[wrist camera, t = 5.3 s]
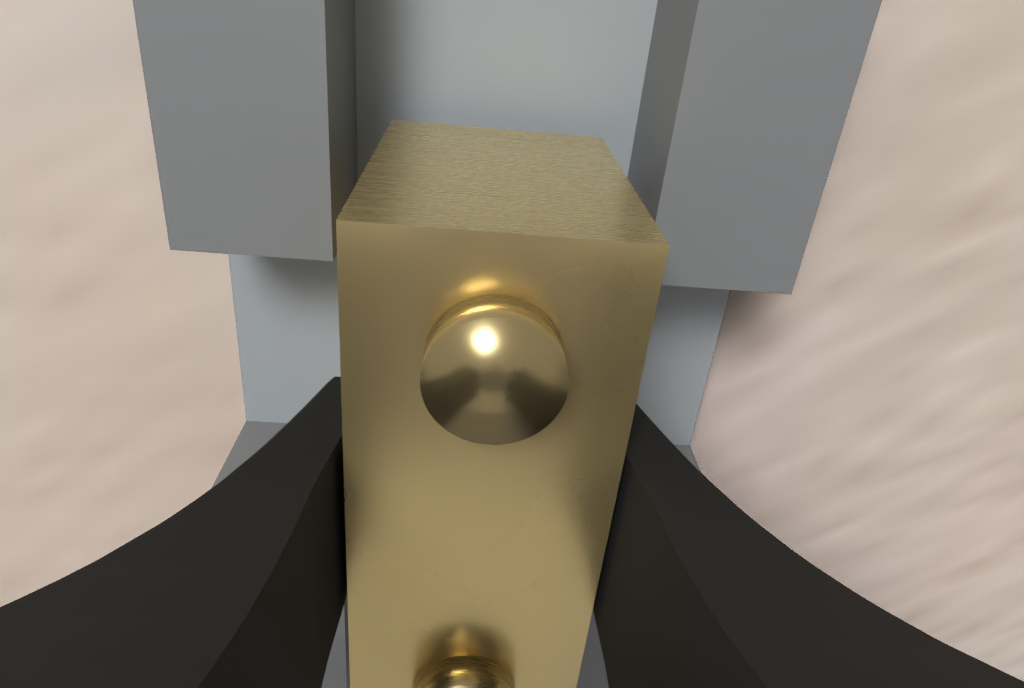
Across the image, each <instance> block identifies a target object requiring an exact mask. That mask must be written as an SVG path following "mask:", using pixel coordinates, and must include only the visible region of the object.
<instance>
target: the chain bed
mask: <svg viewBox="0 0 1024 688" xmlns="http://www.w3.org/2000/svg"><path fill="white" fill-rule="evenodd" d="M881 2H882V0H133V6H134V12H135V19H136V26H137V32H138V39H139V46H140V52H141V59H142V66H143V72H144V79H145V86H146V92H147V99H148V106H149V112H150V119H151V126H152V132H153V139H154V146H155V152H156V159H157V166H158V172H159V179H160V186H161V192H162V199H163V206H164V212H165V219H166V225H167V232H168V239H169V245H170V250H182V251H195V252H209V253H223V254H228V255H229V264H230V273H231V282H232V292H233V301H234V310H235V319H236V329H237V338H238V347H239V356H240V366H241V375H242V384H243V393H244V402H245V412H246V423H245V425H244V427H243V429H242V430H241V432H240V434H239V436H238V438H237V440H236V442H235V444H234V446H233V448H232V450H231V452H230V454H229V456H228V458H227V460H226V462H225V463H224V465H223V467H222V469H221V471H220V473H219V475H218V477H217V479H216V481H215V483H214V485H213V487H214V486H215V485H217V484H218V483H219V482H221V481H222V480H223V479H224V478H226V477H227V476H228V475H229V474H230V473H232V472H233V471H234V470H235V469H236V468H238V467H239V466H240V465H241V464H242V463H244V462H245V461H246V460H247V459H248V458H250V457H251V456H252V455H253V454H254V453H256V452H257V451H258V450H259V449H260V448H261V447H262V446H263V445H265V444H266V443H267V442H268V441H269V440H270V439H271V438H272V437H273V436H274V435H275V434H276V433H277V432H278V431H279V430H281V429H282V428H283V427H284V426H285V425H286V424H287V423H288V422H289V421H290V420H291V419H292V418H293V417H294V416H295V415H296V414H297V413H298V412H299V411H300V410H301V409H302V408H303V407H304V406H305V405H306V404H307V403H308V402H309V401H310V400H311V399H312V398H313V397H314V396H315V395H316V394H317V393H318V392H319V391H320V390H321V389H322V388H323V387H324V386H325V385H326V383H327V382H329V381H330V380H331V379H332V378H334V377H335V376H336V377H341V371H340V338H339V306H338V273H337V240H336V219H337V217H338V216H339V214H340V212H341V210H342V208H343V207H344V205H345V203H346V201H347V199H348V198H349V196H350V194H351V192H352V191H353V189H354V187H355V185H356V183H357V182H358V180H359V178H360V176H361V175H362V173H363V171H364V169H365V167H366V166H367V164H368V162H369V160H370V158H371V157H372V155H373V153H374V151H375V150H376V148H377V146H378V144H379V142H380V141H381V139H382V137H383V135H384V134H385V132H386V130H387V128H388V126H389V125H390V123H391V121H392V120H404V121H416V122H427V123H439V124H450V125H462V126H474V127H485V128H497V129H508V130H520V131H531V132H543V133H555V134H566V135H578V136H589V137H601V138H603V140H604V142H605V143H606V145H607V146H608V148H609V150H610V151H611V153H612V154H613V156H614V158H615V159H616V161H617V162H618V164H619V166H620V167H621V169H622V170H623V172H624V174H625V175H626V177H627V178H628V180H629V181H630V183H631V185H632V186H633V188H634V189H635V191H636V193H637V194H638V196H639V197H640V199H641V201H642V202H643V204H644V205H645V207H646V209H647V210H648V212H649V213H650V215H651V217H652V218H653V220H654V221H655V223H656V225H657V226H658V228H659V229H660V231H661V233H662V234H663V236H664V237H665V239H666V241H667V242H668V244H669V245H670V246H669V251H668V255H667V260H666V265H665V269H664V274H663V279H662V284H661V288H660V293H659V298H658V303H657V307H656V312H655V317H654V322H653V326H652V331H651V336H650V340H649V345H648V350H647V355H646V359H645V364H644V369H643V374H642V378H641V383H640V388H639V393H638V397H637V402H636V404H637V405H638V406H639V407H640V408H641V409H642V410H643V412H644V413H645V414H646V415H647V416H648V417H649V418H650V419H651V420H652V422H653V423H654V424H655V425H656V426H657V427H658V428H659V429H660V430H661V431H662V433H663V434H664V435H665V436H666V437H667V438H668V439H669V440H670V441H671V442H672V443H673V444H674V446H675V447H676V448H677V449H678V450H679V451H680V452H681V453H682V454H683V455H684V456H685V457H686V458H687V459H688V460H689V461H690V462H691V463H692V464H693V465H694V466H695V467H696V468H697V469H698V470H699V471H700V469H699V467H698V465H697V462H696V460H695V457H694V455H693V453H692V450H691V448H690V441H691V437H692V434H693V430H694V426H695V422H696V418H697V415H698V411H699V407H700V403H701V399H702V396H703V392H704V388H705V384H706V380H707V376H708V373H709V369H710V365H711V361H712V357H713V354H714V350H715V346H716V342H717V338H718V335H719V331H720V327H721V323H722V319H723V316H724V312H725V308H726V304H727V300H728V296H729V293H730V290H739V291H753V292H767V293H781V294H791V293H792V290H793V287H794V284H795V280H796V277H797V274H798V271H799V267H800V264H801V261H802V258H803V254H804V251H805V248H806V245H807V241H808V238H809V235H810V232H811V229H812V225H813V222H814V219H815V216H816V212H817V209H818V206H819V203H820V199H821V196H822V193H823V190H824V186H825V183H826V180H827V177H828V173H829V170H830V167H831V164H832V161H833V157H834V154H835V151H836V148H837V144H838V141H839V138H840V135H841V131H842V128H843V125H844V122H845V118H846V115H847V112H848V109H849V106H850V102H851V99H852V96H853V93H854V89H855V86H856V83H857V80H858V76H859V73H860V70H861V67H862V63H863V60H864V57H865V54H866V50H867V47H868V44H869V41H870V38H871V34H872V31H873V28H874V25H875V21H876V18H877V15H878V12H879V8H880V5H881ZM213 487H212V488H213ZM321 688H350V667H349V634H348V601H347V596H346V600H345V603H344V607H343V610H342V613H341V617H340V620H339V624H338V627H337V631H336V634H335V637H334V641H333V644H332V648H331V651H330V655H329V658H328V662H327V667H326V671H325V675H324V679H323V683H322V687H321ZM576 688H609V685H608V679H607V674H606V668H605V663H604V658H603V653H602V649H601V644H600V640H599V635H598V631H597V626H596V621H595V617H594V612H593V610H592V615H591V620H590V625H589V629H588V634H587V639H586V644H585V648H584V653H583V658H582V662H581V667H580V672H579V677H578V681H577V686H576Z"/></svg>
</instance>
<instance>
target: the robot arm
mask: <svg viewBox="0 0 1024 688" xmlns="http://www.w3.org/2000/svg"><path fill="white" fill-rule="evenodd" d="M346 596H347V568H346V535H345V503H344V470H343V437H342V404H341V377H336V376H335V377H334V378H332V379H331V380H330V381H329V382H327V383H326V385H325V386H324V387H323V388H322V389H321V390H320V391H319V392H318V393H317V394H316V395H315V396H314V397H313V398H312V399H311V400H310V401H309V402H308V403H307V404H306V405H305V406H304V407H303V408H302V409H301V410H300V411H299V412H298V413H297V414H296V415H295V416H294V417H293V418H292V419H291V420H290V421H289V422H288V423H287V424H286V425H285V426H284V427H283V428H282V429H281V430H279V431H278V432H277V433H276V434H275V435H274V436H273V437H272V438H271V439H270V440H269V441H268V442H267V443H266V444H265V445H263V446H262V447H261V448H260V449H259V450H258V451H257V452H256V453H254V454H253V455H252V456H251V457H250V458H248V459H247V460H246V461H245V462H244V463H242V464H241V465H240V466H239V467H238V468H236V469H235V470H234V471H233V472H232V473H230V474H229V475H228V476H227V477H226V478H224V479H223V480H222V481H221V482H219V483H218V484H217V485H215V486H214V487H213V488H211V489H210V490H209V491H207V492H206V493H205V494H204V495H202V496H201V497H199V498H198V499H197V500H195V501H194V502H192V503H191V504H189V505H188V506H186V507H185V508H183V509H182V510H180V511H179V512H177V513H176V514H174V515H173V516H171V517H170V518H168V519H167V520H165V521H164V522H162V523H161V524H159V525H157V526H155V527H154V528H152V529H150V530H149V531H147V532H145V533H143V534H142V535H140V536H138V537H137V538H135V539H133V540H131V541H130V542H128V543H126V544H125V545H123V546H121V547H119V548H118V549H116V550H114V551H113V552H111V553H109V554H107V555H106V556H104V557H102V558H100V559H99V560H97V561H95V562H93V563H91V564H89V565H87V566H85V567H83V568H81V569H79V570H77V571H75V572H74V573H72V574H70V575H68V576H66V577H64V578H62V579H60V580H58V581H56V582H54V583H51V584H49V585H47V586H45V587H43V588H41V589H39V590H37V591H35V592H33V593H30V594H28V595H26V596H24V597H22V598H20V599H18V600H15V601H13V602H11V603H9V604H7V605H4V606H2V607H0V688H321V687H322V683H323V679H324V675H325V671H326V667H327V662H328V658H329V655H330V651H331V648H332V644H333V641H334V637H335V634H336V631H337V627H338V624H339V620H340V617H341V613H342V610H343V607H344V603H345V600H346ZM593 612H594V617H595V621H596V626H597V631H598V635H599V640H600V644H601V649H602V653H603V658H604V663H605V668H606V674H607V679H608V685H609V688H1024V682H1023V681H1021V680H1019V679H1017V678H1015V677H1013V676H1011V675H1009V674H1007V673H1004V672H1002V671H1000V670H998V669H996V668H994V667H992V666H990V665H988V664H986V663H984V662H982V661H980V660H978V659H976V658H974V657H971V656H969V655H967V654H965V653H963V652H961V651H959V650H957V649H955V648H953V647H951V646H949V645H947V644H945V643H943V642H941V641H939V640H937V639H935V638H933V637H931V636H930V635H928V634H926V633H924V632H922V631H921V630H919V629H917V628H915V627H913V626H912V625H910V624H908V623H906V622H904V621H903V620H901V619H899V618H897V617H895V616H894V615H892V614H890V613H888V612H886V611H885V610H883V609H881V608H880V607H878V606H876V605H875V604H873V603H871V602H870V601H868V600H866V599H865V598H863V597H861V596H860V595H858V594H857V593H855V592H853V591H852V590H850V589H849V588H847V587H846V586H844V585H843V584H841V583H840V582H838V581H837V580H835V579H834V578H832V577H830V576H829V575H827V574H826V573H824V572H823V571H821V570H820V569H818V568H817V567H815V566H814V565H812V564H811V563H810V562H808V561H807V560H805V559H804V558H802V557H801V556H800V555H798V554H797V553H795V552H794V551H793V550H791V549H790V548H789V547H787V546H786V545H785V544H783V543H782V542H781V541H780V540H778V539H777V538H776V537H774V536H773V535H772V534H771V533H769V532H768V531H767V530H765V529H764V528H763V527H761V526H760V525H759V524H758V523H756V522H755V521H754V520H753V519H752V518H750V517H749V516H748V515H747V514H746V513H744V512H743V511H742V510H741V509H740V508H739V507H737V506H736V505H735V504H734V503H733V502H732V501H731V500H730V499H729V498H728V497H726V496H725V495H724V494H723V493H722V492H721V491H720V490H719V489H718V488H717V487H715V486H714V485H713V484H712V483H711V482H710V481H709V480H708V479H707V478H706V477H705V476H704V475H703V474H702V473H701V472H700V471H699V470H698V469H697V468H696V467H695V466H694V465H693V464H692V463H691V462H690V461H689V460H688V459H687V458H686V457H685V456H684V455H683V454H682V453H681V452H680V451H679V450H678V449H677V448H676V447H675V446H674V444H673V443H672V442H671V441H670V440H669V439H668V438H667V437H666V436H665V435H664V434H663V433H662V431H661V430H660V429H659V428H658V427H657V426H656V425H655V424H654V423H653V422H652V420H651V419H650V418H649V417H648V416H647V415H646V414H645V413H644V412H643V410H642V409H641V408H640V407H639V406H638V405H637V404H636V407H635V412H634V416H633V421H632V426H631V430H630V435H629V440H628V445H627V449H626V454H625V459H624V464H623V468H622V473H621V478H620V483H619V487H618V492H617V497H616V501H615V506H614V511H613V516H612V520H611V525H610V530H609V535H608V539H607V544H606V549H605V554H604V558H603V563H602V568H601V573H600V577H599V582H598V587H597V591H596V596H595V601H594V606H593Z"/></svg>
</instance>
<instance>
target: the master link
mask: <svg viewBox="0 0 1024 688" xmlns="http://www.w3.org/2000/svg"><path fill="white" fill-rule="evenodd" d="M336 240H337V273H338V306H339V338H340V371H341V404H342V437H343V470H344V503H345V535H346V568H347V601H348V634H349V667H350V688H576V686H577V681H578V677H579V672H580V667H581V662H582V658H583V653H584V648H585V644H586V639H587V634H588V629H589V625H590V620H591V615H592V610H593V606H594V601H595V596H596V591H597V587H598V582H599V577H600V573H601V568H602V563H603V558H604V554H605V549H606V544H607V539H608V535H609V530H610V525H611V520H612V516H613V511H614V506H615V501H616V497H617V492H618V487H619V483H620V478H621V473H622V468H623V464H624V459H625V454H626V449H627V445H628V440H629V435H630V430H631V426H632V421H633V416H634V412H635V407H636V402H637V397H638V393H639V388H640V383H641V378H642V374H643V369H644V364H645V359H646V355H647V350H648V345H649V340H650V336H651V331H652V326H653V322H654V317H655V312H656V307H657V303H658V298H659V293H660V288H661V284H662V279H663V274H664V269H665V265H666V260H667V255H668V251H669V246H670V245H669V244H668V242H667V241H666V239H665V237H664V236H663V234H662V233H661V231H660V229H659V228H658V226H657V225H656V223H655V221H654V220H653V218H652V217H651V215H650V213H649V212H648V210H647V209H646V207H645V205H644V204H643V202H642V201H641V199H640V197H639V196H638V194H637V193H636V191H635V189H634V188H633V186H632V185H631V183H630V181H629V180H628V178H627V177H626V175H625V174H624V172H623V170H622V169H621V167H620V166H619V164H618V162H617V161H616V159H615V158H614V156H613V154H612V153H611V151H610V150H609V148H608V146H607V145H606V143H605V142H604V140H603V138H601V137H589V136H578V135H566V134H555V133H543V132H531V131H520V130H508V129H497V128H485V127H474V126H462V125H450V124H439V123H427V122H416V121H404V120H392V121H391V123H390V125H389V126H388V128H387V130H386V132H385V134H384V135H383V137H382V139H381V141H380V142H379V144H378V146H377V148H376V150H375V151H374V153H373V155H372V157H371V158H370V160H369V162H368V164H367V166H366V167H365V169H364V171H363V173H362V175H361V176H360V178H359V180H358V182H357V183H356V185H355V187H354V189H353V191H352V192H351V194H350V196H349V198H348V199H347V201H346V203H345V205H344V207H343V208H342V210H341V212H340V214H339V216H338V217H337V219H336Z"/></svg>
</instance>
